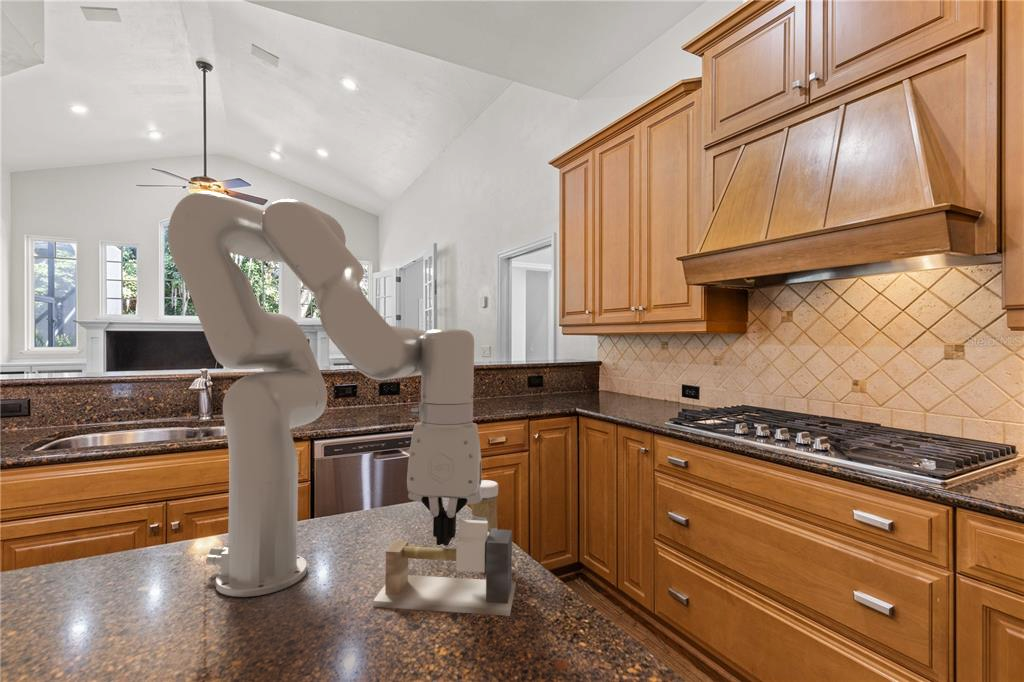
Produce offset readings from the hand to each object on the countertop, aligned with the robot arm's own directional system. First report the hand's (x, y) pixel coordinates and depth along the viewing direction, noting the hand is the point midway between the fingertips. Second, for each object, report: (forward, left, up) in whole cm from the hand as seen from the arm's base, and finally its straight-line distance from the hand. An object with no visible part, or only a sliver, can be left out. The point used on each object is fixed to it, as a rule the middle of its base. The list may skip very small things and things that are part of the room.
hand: (444, 541), depth 71 cm
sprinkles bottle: (+4, +11, -8) cm, 14 cm away
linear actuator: (+1, 0, -8) cm, 8 cm away
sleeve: (+4, 0, -3) cm, 5 cm away
